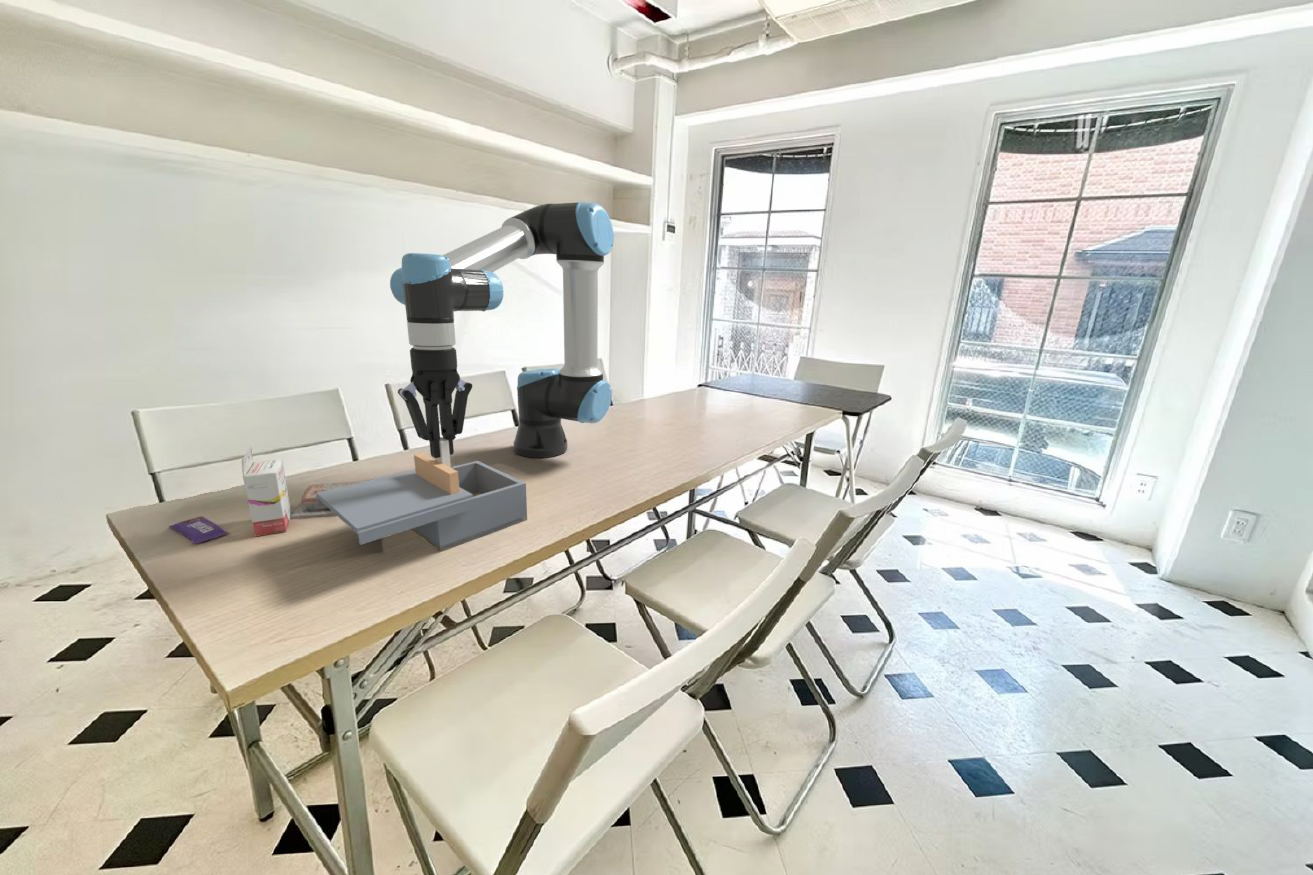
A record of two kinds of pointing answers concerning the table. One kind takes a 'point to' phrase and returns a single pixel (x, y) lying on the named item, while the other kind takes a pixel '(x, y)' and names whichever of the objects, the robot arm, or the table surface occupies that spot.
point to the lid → (399, 500)
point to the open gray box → (479, 507)
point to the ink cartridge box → (266, 494)
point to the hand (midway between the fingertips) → (443, 472)
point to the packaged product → (315, 502)
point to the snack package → (199, 529)
